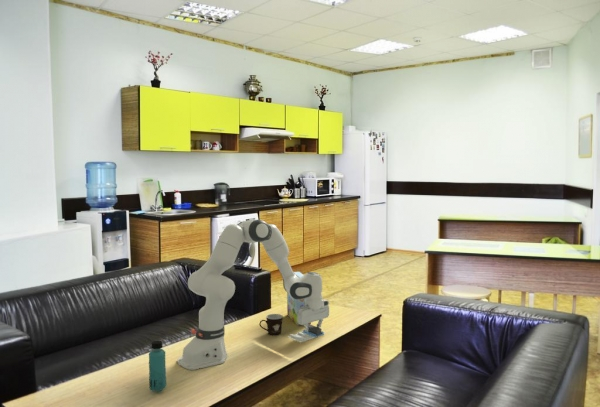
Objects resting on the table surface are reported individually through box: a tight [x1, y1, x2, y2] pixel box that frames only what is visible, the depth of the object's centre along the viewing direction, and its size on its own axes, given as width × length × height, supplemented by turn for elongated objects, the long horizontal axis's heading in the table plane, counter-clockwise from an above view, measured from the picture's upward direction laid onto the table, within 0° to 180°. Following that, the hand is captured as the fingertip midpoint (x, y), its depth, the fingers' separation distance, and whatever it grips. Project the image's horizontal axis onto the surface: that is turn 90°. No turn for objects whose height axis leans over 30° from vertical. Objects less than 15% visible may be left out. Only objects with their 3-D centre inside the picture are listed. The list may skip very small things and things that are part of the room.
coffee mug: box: [259, 313, 284, 337], centre depth 244 cm, size 12×9×10 cm
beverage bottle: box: [148, 340, 167, 392], centre depth 183 cm, size 6×7×20 cm
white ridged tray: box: [287, 329, 327, 343], centre depth 242 cm, size 18×10×2 cm, turn 132°
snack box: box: [286, 271, 312, 326], centre depth 266 cm, size 22×9×26 cm, turn 17°
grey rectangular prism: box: [307, 324, 322, 337], centre depth 245 cm, size 3×9×3 cm, turn 43°
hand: (313, 329), depth 245 cm, fingers open, 7 cm apart
